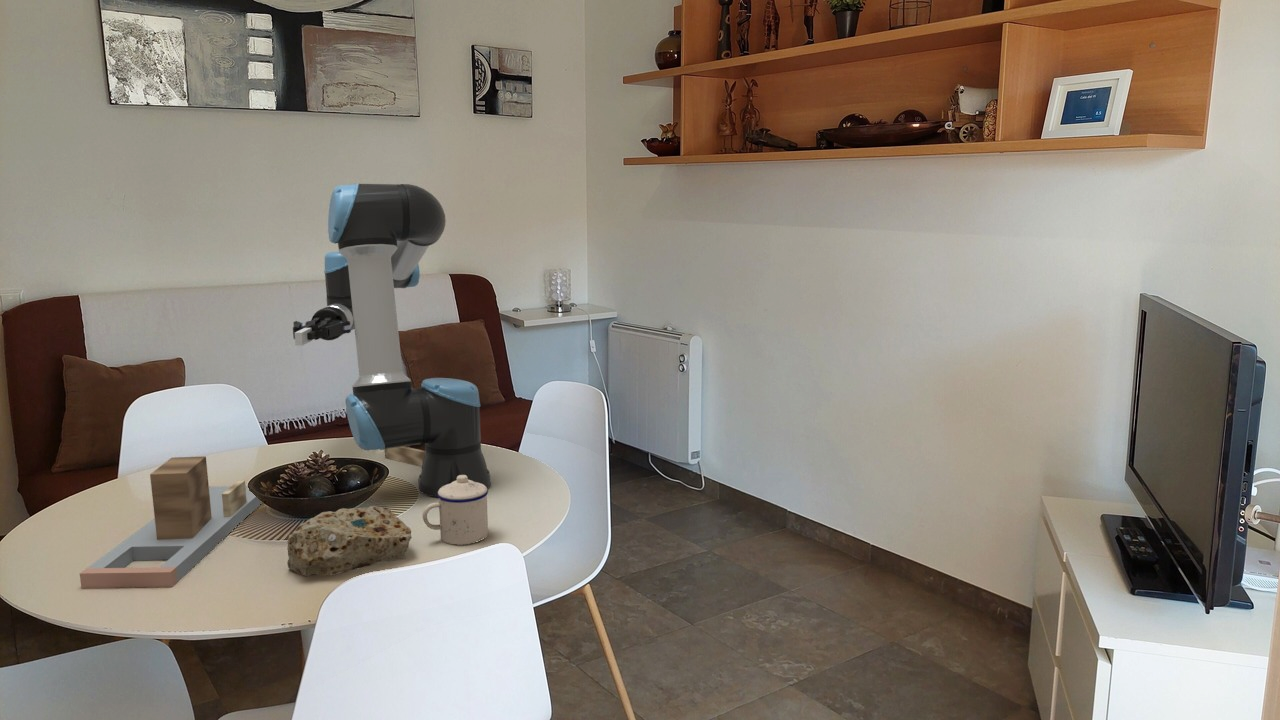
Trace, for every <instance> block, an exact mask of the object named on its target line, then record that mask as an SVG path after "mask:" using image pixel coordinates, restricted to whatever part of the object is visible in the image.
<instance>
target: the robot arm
mask: <svg viewBox="0 0 1280 720" xmlns="http://www.w3.org/2000/svg"><path fill="white" fill-rule="evenodd" d="M331 192H332V193H331V195H330V199H329V201H330V202H329V208H328V218H327V219H328V220H327V225H328V226H327V233H328V239H329V241H330V243H331V244H337V247H338V251H329V252H327V253H326V254H325V255H324V273H323V274H324V277H325V289H326V291H325V292H326V306H325V307H323V308H321V309H318V310H317V311H316V312H315V313H314V314H313V315H312V318H311V320H307V321H305V322H304V323H303V321H297V320H295V321H293V327H292V334H293V335H292V336H293V340H294V344H295V346H304V345H306V344H308V343H310V342H312V341H313V340H315V341H317V340H319V339H320V340H324V341H334V340H336V339H339V338H340V337H342V336H343V335H345V334H350V333H352V330H354V336H355V348H356V356H357V367H358V368H357V369H358V378H357V380H355V381H354V383H353V384H352V387H351V388H352V393H349V395H347V396H346V398H345V408H346V409H345V410H346V416H347V417H346V418H347V420H348V424H349V428H350V430H351V431H350V432H351V434H352V437H353V440H354V441H355V444H356V445H357V446H358V448H360V449H361V450H363V451H374V450H375V451H376V450H381V451H385V449H388V448H395V447H403V446H410V445H418V444H425V457H424V461H423V465H422V466H421V469H420V474H419V476H418V481H417V482H418V490H419V492H420V493H421V494H423V495H426V496H429V497H434V498H438V496H437V494H438V491H439V489H440V488H441V487H443V486H445V485H447V484H450V483H452V482H453V481H456V480H457V476H459V475H466V476H467V477H468V480H471V481H474V482H477V483H481V484H483V485H485V486H486V488H487V490H488V489H489V488H490V486H491V484H492V483H491V473H490V470H489V469H488V467H487V463H486V461H485V460H486V459H485V456H484V454H483V452H482V443H481V441H482V440H481V439H482V438H481V437H482V435H481V412H480V409H481V408H480V407H481V401H480V395H479V394H480V393H479V388H478V387H477V386H476V384H474V383H472V382H470V381H467V380H463V379H457V378H450V377H449V378H448V377H447V378H446V377H431V378H425V379H423V380H422V383H421V384H420V385H421V387H419V388H418V387H417V388H413V386H412V380H411V378H409V377H408V376H407V375H406V374H405V373H404V372H403V364H402V363H403V362H402V353H401V352H402V351H401V344H400V335H399V325H398V315H397V303H396V295H395V289H406V288H412V287H416V286H418V284H419V282H420V276H421V274H420V266H419V263H420V261H421V260H422V258H423V256H424V255H425V253H426V252H427V250H428V248H429V247H430V246H433V245H434V244H435V243H437V242H438V241H439V240H440V238H441V236H442V235H443V233H444V231H445V227H446V221H447V220H446V213H445V210H444V207H443V206H442V205H441V202H440V201H439V200H438V199H437V197H435V196H434V195H433V194H432V193H430V191H428V190H426V189H425V188H423V187H420V186H418V185H414V184H409V183H399V184H398V183H396V184H395V183H393V184H390V183H358V182H357V183H354V184H339V185H338V186H336V187H335V188H333V191H331Z"/></svg>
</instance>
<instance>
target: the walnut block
mask: <svg viewBox="0 0 1280 720" xmlns="http://www.w3.org/2000/svg"><path fill="white" fill-rule="evenodd" d="M149 476H150V477H149V478H150V486H151V497H152V506H153V514H154V518H155V525H156V535H157V540H166V539H188V538H194V537H195V536H196V534H197V533H198V532H199V531H200V530H201V529H202V528H203V527H204V526H205V525H206V524H207V523H208V522H209V521H210V519H211V518H212V516H211V505H210V495H209V487H210V486H209V474H208V465H207V456H183V457H182V456H179V457H176V456H175V457H171V458H169V459H168V460H167V461H166V462H164V463H163V464H161V465H160V466H159V467H157V468H156V469H155V470H154V471H153V472H151V473H150V474H149Z"/></svg>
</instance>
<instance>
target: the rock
mask: <svg viewBox="0 0 1280 720" xmlns="http://www.w3.org/2000/svg"><path fill="white" fill-rule="evenodd" d="M411 539H412V530H411V528H410V527H409V526H407V525H406V523H404V521H403V520H402V519H400V518H399V517H398V516H397V515H396V513H394V512H393V511H392V510H391V508H390V507H380V506H376V505H371V506H366V507H365V506H364V507H353V508H352V507H351V508H344V507H342V508H339V509H338V510H336V511H331V510H330V511H323V512H320V513H319V514H317V515H315V516H314V517H311V518H309V519H308V520H306V521H305V522H303V523H300V524H299V525H298V526H297V527H296V529H294V531H292V534H289V535H288V539H287V556H288V559H287V567H288V569H289V570H291V571H294V572H296V573H297V574H299V575H301V576H302V575H303V576H304V577H311V576H312V575H313V574H314V575H315V574H317V575H318V576H333V575H337V574H340V573H345V572H346V573H347V572H348V571H352V570H357V569H361V568H364V567H369V566H373V565H375V564H377V563H380V562H385V561H386V562H392V561H396V560H403V559H406V554H407V551H408V550H409V545H410V541H411Z"/></svg>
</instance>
